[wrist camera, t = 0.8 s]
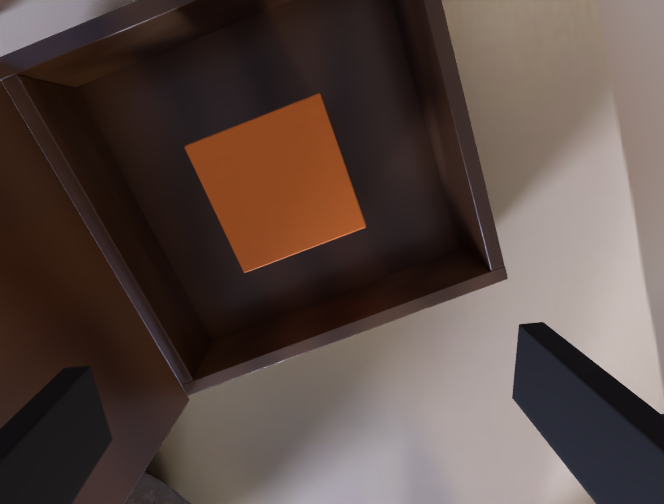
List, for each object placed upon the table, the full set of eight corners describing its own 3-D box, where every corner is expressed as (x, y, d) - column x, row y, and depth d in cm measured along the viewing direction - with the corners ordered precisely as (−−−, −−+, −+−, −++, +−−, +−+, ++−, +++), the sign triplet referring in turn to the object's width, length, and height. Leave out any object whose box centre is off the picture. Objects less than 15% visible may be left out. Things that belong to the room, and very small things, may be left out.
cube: (315, 105, 24) (319, 92, 18) (351, 205, 26) (367, 227, 20) (216, 144, 25) (183, 146, 18) (259, 240, 27) (243, 273, 20)
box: (387, -52, 23) (415, -114, 17) (468, 251, 29) (508, 279, 23) (63, 79, 24) (-12, 61, 18) (209, 347, 30) (186, 396, 24)
